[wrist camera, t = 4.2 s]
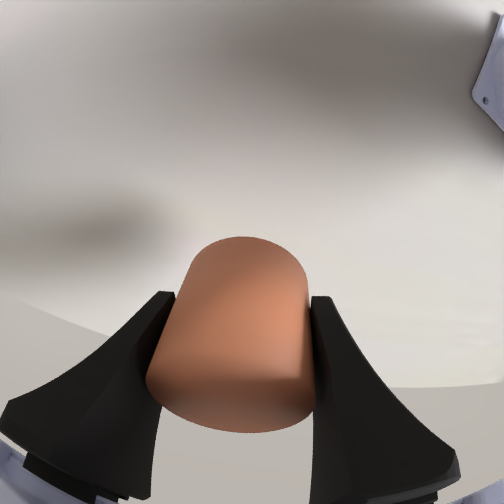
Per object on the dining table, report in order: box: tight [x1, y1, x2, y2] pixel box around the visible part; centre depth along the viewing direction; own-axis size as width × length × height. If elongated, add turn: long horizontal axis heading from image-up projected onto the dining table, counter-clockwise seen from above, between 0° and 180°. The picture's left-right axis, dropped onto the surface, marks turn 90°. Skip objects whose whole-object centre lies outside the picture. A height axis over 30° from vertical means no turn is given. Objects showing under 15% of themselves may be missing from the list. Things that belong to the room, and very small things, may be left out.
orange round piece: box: [145, 237, 316, 433], centre depth 9 cm, size 5×5×5 cm
